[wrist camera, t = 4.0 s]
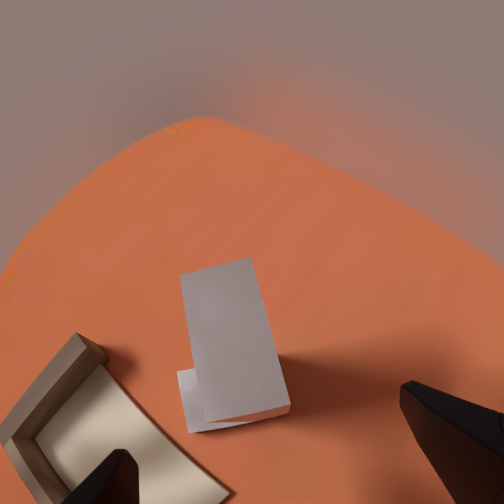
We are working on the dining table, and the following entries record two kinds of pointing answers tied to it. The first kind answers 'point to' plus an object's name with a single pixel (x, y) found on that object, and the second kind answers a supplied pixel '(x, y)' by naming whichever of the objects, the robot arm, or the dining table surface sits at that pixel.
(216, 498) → the corner fixture
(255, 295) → the bracket
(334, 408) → the dining table surface
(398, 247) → the dining table surface
